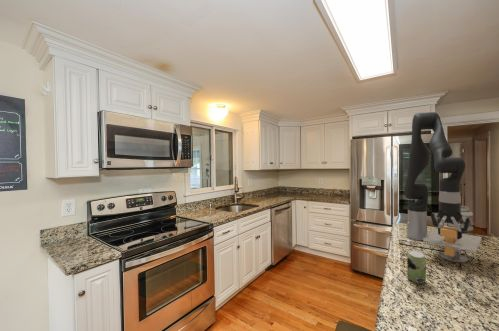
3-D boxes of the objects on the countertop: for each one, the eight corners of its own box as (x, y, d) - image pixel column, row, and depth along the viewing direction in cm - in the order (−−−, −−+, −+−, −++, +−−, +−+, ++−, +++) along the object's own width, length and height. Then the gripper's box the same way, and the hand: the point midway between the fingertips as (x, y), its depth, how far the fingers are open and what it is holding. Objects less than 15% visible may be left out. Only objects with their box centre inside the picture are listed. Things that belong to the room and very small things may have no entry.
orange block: (440, 254, 104) (440, 229, 104) (443, 250, 109) (443, 225, 108) (456, 258, 100) (456, 231, 99) (459, 253, 104) (459, 228, 104)
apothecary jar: (450, 237, 135) (449, 208, 135) (444, 231, 146) (443, 204, 145) (477, 240, 130) (477, 209, 129) (468, 233, 140) (468, 205, 140)
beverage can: (422, 277, 93) (421, 249, 93) (429, 287, 87) (429, 256, 86) (404, 275, 96) (404, 247, 95) (410, 285, 89) (410, 255, 88)
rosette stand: (423, 260, 108) (422, 234, 108) (433, 248, 121) (433, 225, 120) (476, 274, 94) (476, 245, 94) (481, 259, 107) (481, 233, 106)
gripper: (427, 200, 106) (428, 235, 107) (470, 204, 95) (470, 243, 96) (431, 198, 111) (432, 231, 112) (472, 201, 100) (472, 239, 101)
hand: (449, 237), depth 104 cm, fingers closed on orange block, 5 cm apart
